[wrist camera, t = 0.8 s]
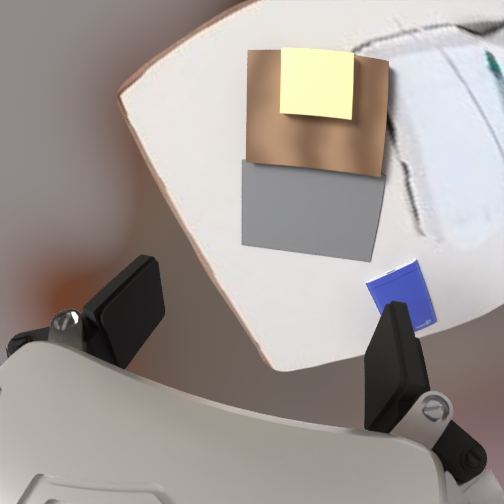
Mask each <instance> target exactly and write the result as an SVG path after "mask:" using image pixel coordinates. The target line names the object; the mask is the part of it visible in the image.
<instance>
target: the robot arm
mask: <svg viewBox="0 0 504 504" xmlns="http://www.w3.org/2000/svg"><path fill="white" fill-rule="evenodd" d="M83 310H84V312H83V313H82V314H81V313H80V312H79V311H77V310H74V309H66V310H63V311H61V312H59V313H57V314H56V315H55V316H54V317H53V319H52V320H51V323H50V327H46V328H41V329H36V330H32V331H28V332H23V333H20V334H17V335H15V336H14V337H13V338H12V339H11V341H10V342H9V344H8V348H6V346H3V347H1V348H0V504H504V493H503V491H502V489H501V487H500V485H499V483H498V482H497V480H496V478H495V477H494V475H493V473H492V471H491V470H490V469H489V470H488V471H487V470H486V468H485V466H486V463H487V455H486V452H485V450H484V448H483V447H482V446H481V445H480V444H479V443H478V442H477V441H476V440H474V439H473V438H472V437H471V436H470V435H469V434H467V433H466V432H465V431H464V430H463V429H462V428H460V427H459V426H458V425H457V424H456V423H455V422H453V421H452V420H451V418H452V415H453V407H452V404H451V402H450V400H449V399H448V398H447V397H446V396H445V395H444V394H442V393H440V392H436V391H430V386H429V380H428V375H427V370H426V366H425V361H424V356H423V352H422V348H421V344H420V341H419V339H418V338H416V337H415V334H414V330H413V326H412V322H411V318H410V315H409V311H408V307H407V304H406V303H405V302H399V301H391V303H390V304H386V305H385V307H384V310H383V312H382V315H381V317H380V320H379V322H378V325H377V327H376V330H375V332H374V334H373V337H372V339H371V341H370V344H369V346H368V348H367V350H366V353H365V358H364V364H365V422H364V428H365V429H366V430H368V431H366V430H359V429H349V428H341V427H334V426H327V425H320V424H314V423H307V422H301V421H295V420H290V419H285V418H279V417H275V416H269V415H265V414H260V413H256V412H252V411H248V410H244V409H240V408H236V407H232V406H228V405H224V404H221V403H218V402H214V401H211V400H207V399H204V398H201V397H197V396H194V395H191V394H188V393H185V392H182V391H179V390H176V389H173V388H170V387H167V386H165V385H162V384H159V383H157V382H154V381H151V380H149V379H146V378H143V377H141V376H138V375H136V374H133V373H131V372H129V371H126V370H124V369H125V368H126V367H127V366H128V364H129V363H130V362H131V360H132V359H133V357H134V356H135V355H136V353H137V352H138V351H139V349H140V348H141V347H142V345H143V344H144V342H145V341H146V340H147V339H148V337H149V336H150V334H151V333H152V332H153V330H154V329H155V328H156V326H157V325H158V324H159V322H160V321H161V320H162V318H163V317H164V315H165V306H164V300H163V293H162V286H161V279H160V272H159V265H158V262H157V261H156V260H155V258H154V257H152V256H148V255H140V256H139V257H137V258H136V259H135V260H134V261H133V262H132V263H131V264H129V265H128V266H127V267H126V268H125V269H124V270H123V271H122V272H120V273H119V274H118V275H117V276H116V277H115V278H114V279H113V280H112V281H111V282H109V283H108V284H107V285H106V286H105V287H104V288H103V289H102V290H101V291H100V292H98V293H97V294H96V295H95V296H94V297H93V298H92V299H91V300H90V301H89V302H88V303H87V304H86V305H85V306H84V307H83Z"/></svg>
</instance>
